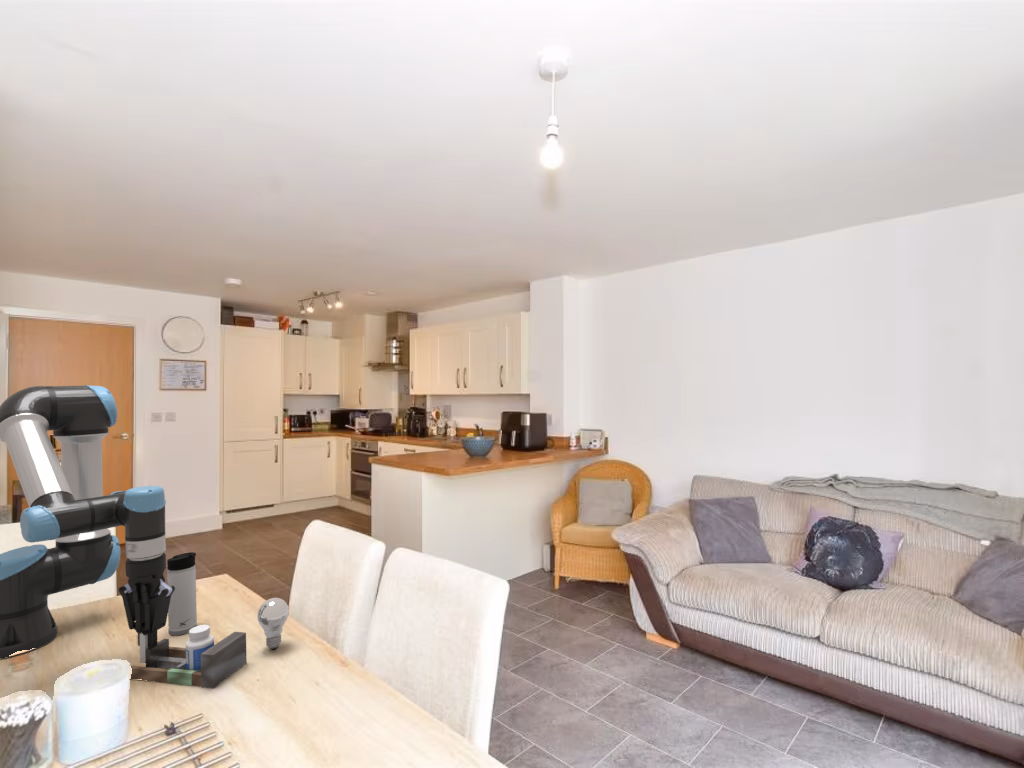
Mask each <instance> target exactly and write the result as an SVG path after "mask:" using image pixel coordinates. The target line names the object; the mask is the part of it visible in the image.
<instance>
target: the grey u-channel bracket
mask: <svg viewBox="0 0 1024 768" xmlns="http://www.w3.org/2000/svg"><path fill="white" fill-rule="evenodd" d="M169 647H170V639H169V638H162V640H161V639H160V641H157V643H156V644H154V645H152V646H150V647H149V648H147V649H145V656H146V663H145V667H150V668H161V669H171V668H172V669H183V670H186V659H185V658H174V657H169Z"/></svg>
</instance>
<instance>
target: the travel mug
mask: <svg viewBox="0 0 1024 768" xmlns="http://www.w3.org/2000/svg"><path fill="white" fill-rule="evenodd" d="M196 555H197V553H196V552H193V551H192V552H191V551H190V552H185V553H180V554H177V555H174V556H173V557H170V558H168V559H166V571H167V572H166V573H167V574H166V575H167V577H166V578H167V582H166V584H167V585H168V586H169V587H170V586H174V587H175V590H174V592H173V593H172V595H171V599H170V605H169V610H168V615H167V621H168V624H167V625H168V626H167V627H168V634H169V635H170V636H172V637H173V636H183V635H186V634H189V630H190V629H192V628H194V627H196V626H198V625H197V624H198V622H197V620H198V619H197V618H198V617H197V572H196V571H197V570H196V565H197V564H196V557H197V556H196Z"/></svg>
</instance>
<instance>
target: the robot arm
mask: <svg viewBox="0 0 1024 768" xmlns="http://www.w3.org/2000/svg"><path fill="white" fill-rule="evenodd" d="M117 419H118V408H117V404H116V401H115V398H114V395H113V394H112V393H111V391H110V390H109V389H108V388H106V387H105V386H101V385H87V384H84V385H51V386H49V385H48V386H46V385H45V386H44V385H36V386H35V385H34V386H30V387H26V388H23V389H20V390H18V391H16V392H14V393H13V394H11V395H10V396H9V397H7V398H6V399H4V401H3V402H2V403H1V404H0V441H1V442H2V443H5V445H6V448H7V450H8V453H9V456H10V458H11V461H12V464H13V467H14V469H15V472H16V475H17V478H18V480H19V484H20V486H21V489H22V492H23V495H24V497H25V500H26V503H27V505H28V507H26V508H25V509H23V510H22V512H21V514H20V517H19V518H20V521H19V527H20V531H21V536H22V538H23V540H24V541H25V542H27V543H32V545H25V546H21V547H18V548H14V549H11V550H8V551H5V552H2V553H0V658H1V659H2V658H3V659H6V658H5V657H8V658H10V657H9V655H11V654H13V653H15V652H17V651H22V650H30V649H32V648H37V649H39V648H41V647H43V646H45V645H48V644H49V643H51V642H53V640H55V639H56V638H57V636H58V625H57V622H56V621H55V619H54V617H53V615H52V612H51V611H50V608H49V604H48V598H49V596H50V595H54V594H59V593H61V592H66V591H69V590H73V589H77V588H80V587H84V586H87V585H94V584H96V583H98V582H102V581H105V580H107V579H110V578H111V577H113V575H114V574H116V571H117V570H118V567H119V564H120V560H121V546H120V540H119V538H118V537H117V536H116V535H112V533H111V532H112V531H111V530H110V529H111V528H115V527H116V528H117V527H121V526H123V527H124V540H125V544H124V546H125V550H124V551H125V558H126V561H125V576H126V577H127V578H128V579H127V583H126V584H125V585H122V586H120V587H118V592H119V594H120V596H121V597H122V603H123V606H124V612H125V616H126V620H127V625H128V628H129V630H135V632H136V633H137V645H138V647H139V663H140V664H146V656H145V649H147V648H149V647H150V646H152V645H154V644H156V643H157V642H158V630H160V629H162V628H164V627H165V626H166V624H167V621H168V610H169V605H170V599H171V595H172V593H173V592H174V590H175V587H174V586H170V587H169V586H168V583H166V579H165V575H164V572H165V570H167V554H165V552H166V550H167V545H166V542H167V541H166V504H167V501H166V498H165V490H164V488H163V487H162V486H160V485H145V486H144V485H143V486H137V487H133V488H129V489H127V490H117V491H114V492H112V493H110V494H107V495H104V487H103V486H104V485H103V484H104V483H103V445H102V444H103V443H102V441H103V439H104V438H105V437H106V436H107V435H109V428H112V427H113V426H115V425H116V424H117V421H118V420H117ZM49 431H52V434H53V436H52V437H53V439H56V440H57V441H58V442H59V443H60V451H61V452H60V459H61V463H60V461H59V459H58V456H57V454H56V452H55V449H54V446H53V444H52V442H51V440H50V437H49V435H48V432H49ZM46 541H55V545H54V546H55V547H51V548H48V547H47V546H46V545H45V544H33V543H40V542H46ZM1 659H0V660H1Z"/></svg>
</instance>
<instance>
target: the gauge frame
mask: <svg viewBox="0 0 1024 768" xmlns="http://www.w3.org/2000/svg"><path fill="white" fill-rule="evenodd" d="M169 657H174V658H185V659H186V647H179V646H169ZM247 660H248V659H247V632H245V631H244V632H243V631H234V632H231V633H230V634H229V635H227V636H226V637H223V639H221V640H220V641H218V642H217V643H214V646H212V647H211V648H209V649H208V650H206V651H205V652H203V653H202V654H201V672H196V671H194V670H183V669H172V668H171V669H169V668H159V667H158V668H150V667H146V666H141V665H139V666H138V665H130V666H131V668H132V674H131V679H130V680H132V679H142V680H147V681H146V682H151V681H155V682H154V683H160V684H161V683H163V684H172V685H181V686H191V687H192V686H193V687H201V688H204V687H205V688H206V689H215V688H216V687H217V686H219V685H220V684H222V683H223V682H224V681H225V680H227V679H228V678H230V677H231V676H232V675H233V674H235V673H236V672H237V671H238V670H240V669H241V668H242V667H244V666H245V665H246V664H247V663H248V662H247ZM243 665H244V666H243ZM239 668H240V669H239ZM230 675H231V676H230ZM205 688H204V689H205Z"/></svg>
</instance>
